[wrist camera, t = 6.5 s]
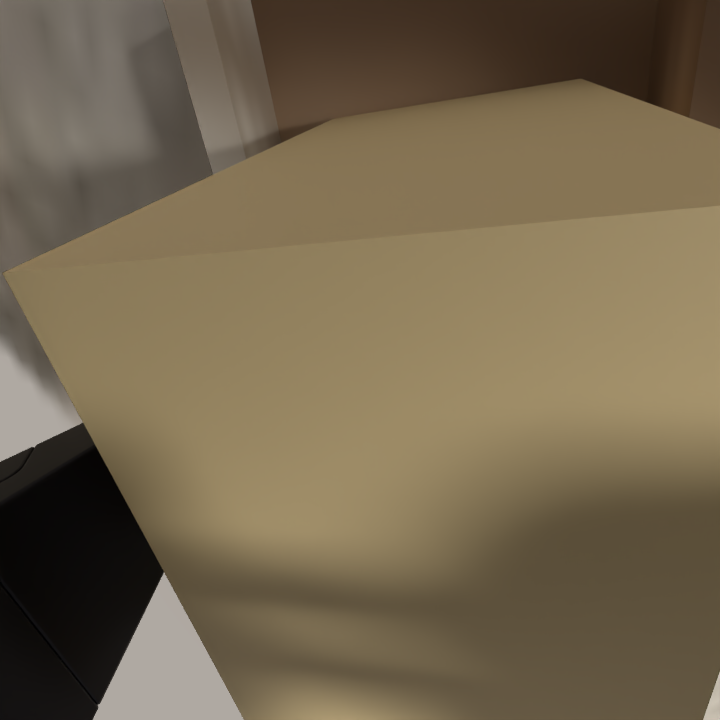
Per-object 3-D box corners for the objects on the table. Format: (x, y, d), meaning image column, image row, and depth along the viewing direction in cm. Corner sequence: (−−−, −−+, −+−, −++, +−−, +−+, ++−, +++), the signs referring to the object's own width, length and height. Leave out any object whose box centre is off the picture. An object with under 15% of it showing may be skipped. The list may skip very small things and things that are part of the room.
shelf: (611, 565, 18) (635, 668, 15) (353, 545, 20) (330, 630, 17) (707, -121, 9) (817, -206, 6) (223, -6, 11) (128, -24, 8)
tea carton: (563, 428, 14) (649, 874, 6) (381, 426, 15) (276, 793, 8) (580, 78, 10) (886, 191, 2) (328, 119, 11) (-13, 273, 4)
